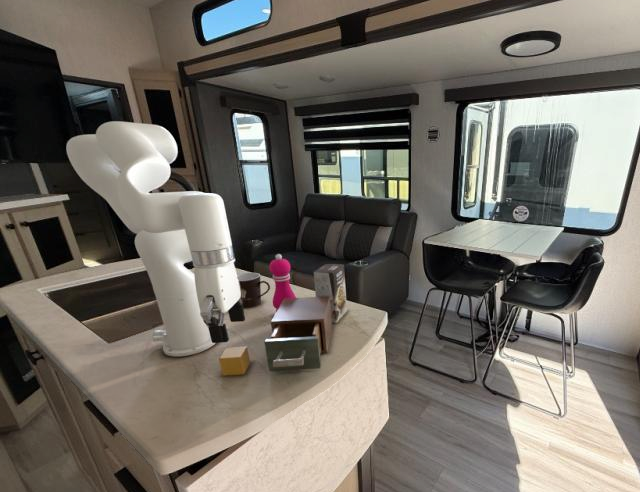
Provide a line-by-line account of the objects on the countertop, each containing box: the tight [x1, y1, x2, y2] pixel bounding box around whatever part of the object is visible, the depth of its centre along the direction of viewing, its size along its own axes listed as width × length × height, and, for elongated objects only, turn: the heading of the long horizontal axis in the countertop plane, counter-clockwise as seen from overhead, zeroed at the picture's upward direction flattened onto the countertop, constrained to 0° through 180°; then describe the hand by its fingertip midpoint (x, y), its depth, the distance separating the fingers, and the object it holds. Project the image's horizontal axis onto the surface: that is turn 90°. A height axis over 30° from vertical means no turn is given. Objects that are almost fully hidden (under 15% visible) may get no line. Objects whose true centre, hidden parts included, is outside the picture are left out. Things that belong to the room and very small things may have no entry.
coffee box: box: [313, 263, 348, 324], centre depth 98 cm, size 9×6×16 cm
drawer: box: [263, 322, 323, 373], centre depth 75 cm, size 18×11×8 cm, turn 6°
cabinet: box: [270, 296, 333, 354], centre depth 85 cm, size 15×13×10 cm
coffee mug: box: [237, 272, 271, 309], centre depth 107 cm, size 12×9×10 cm
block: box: [218, 346, 251, 376], centre depth 74 cm, size 5×5×5 cm
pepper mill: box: [269, 253, 297, 313], centre depth 98 cm, size 7×7×20 cm
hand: (229, 330), depth 71 cm, fingers open, 9 cm apart
